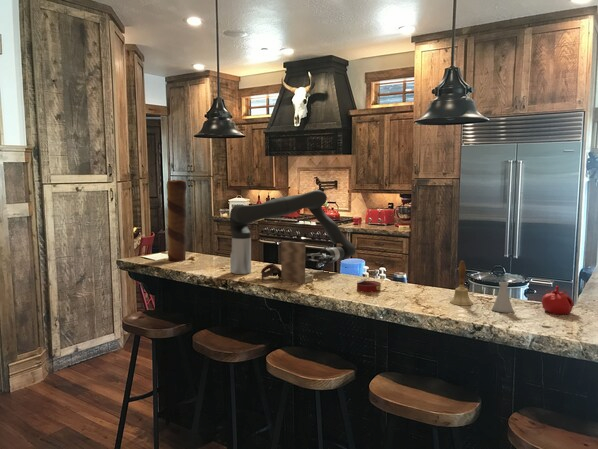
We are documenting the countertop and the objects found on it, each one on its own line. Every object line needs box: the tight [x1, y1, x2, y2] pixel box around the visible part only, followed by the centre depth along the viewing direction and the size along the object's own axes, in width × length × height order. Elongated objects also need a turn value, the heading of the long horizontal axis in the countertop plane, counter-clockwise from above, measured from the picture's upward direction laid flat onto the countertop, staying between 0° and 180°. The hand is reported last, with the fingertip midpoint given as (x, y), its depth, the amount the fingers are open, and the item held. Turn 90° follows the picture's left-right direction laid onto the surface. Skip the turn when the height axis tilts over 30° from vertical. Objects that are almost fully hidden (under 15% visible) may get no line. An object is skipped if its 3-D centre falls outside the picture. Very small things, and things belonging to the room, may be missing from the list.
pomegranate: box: [541, 285, 574, 315], centre depth 168 cm, size 10×10×9 cm
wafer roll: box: [166, 179, 187, 262], centre depth 269 cm, size 10×11×45 cm
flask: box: [491, 281, 514, 314], centre depth 170 cm, size 7×7×10 cm
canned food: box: [356, 271, 382, 294], centre depth 201 cm, size 11×10×10 cm
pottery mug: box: [260, 263, 281, 280], centre depth 221 cm, size 12×10×8 cm
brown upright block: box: [280, 240, 314, 285], centre depth 217 cm, size 12×9×18 cm
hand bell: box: [449, 260, 474, 307], centre depth 180 cm, size 8×8×16 cm
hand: (311, 259), depth 226 cm, fingers open, 8 cm apart
